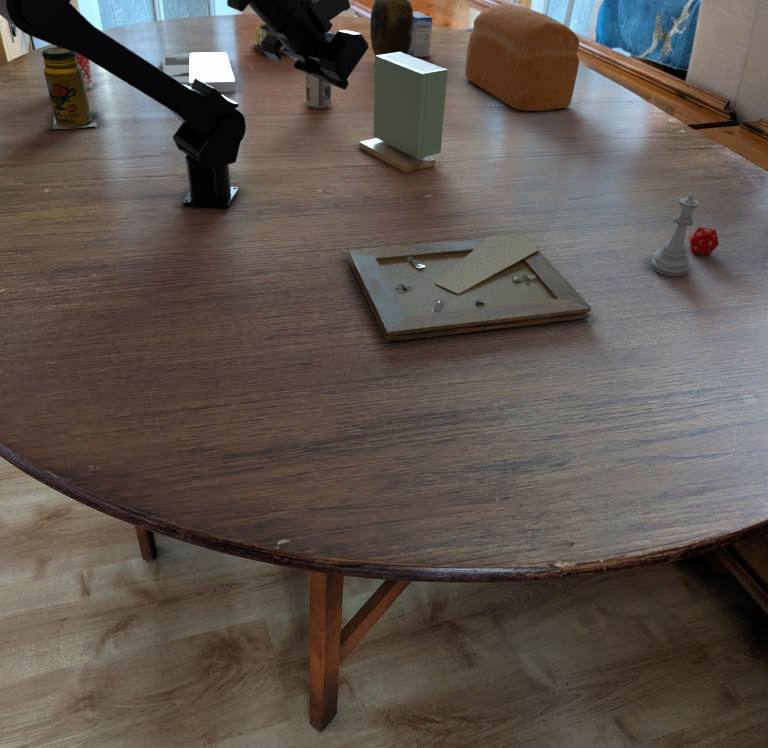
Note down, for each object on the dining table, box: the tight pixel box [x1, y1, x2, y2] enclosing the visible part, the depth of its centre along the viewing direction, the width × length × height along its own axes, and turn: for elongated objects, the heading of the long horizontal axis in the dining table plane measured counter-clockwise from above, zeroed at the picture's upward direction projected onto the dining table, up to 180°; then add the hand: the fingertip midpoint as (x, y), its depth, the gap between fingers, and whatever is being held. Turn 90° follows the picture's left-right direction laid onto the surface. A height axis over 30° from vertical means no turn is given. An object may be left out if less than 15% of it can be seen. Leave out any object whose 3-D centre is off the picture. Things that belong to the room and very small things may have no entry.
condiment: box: [41, 46, 98, 130], centre depth 124 cm, size 7×8×12 cm
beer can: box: [304, 72, 332, 110], centre depth 137 cm, size 5×5×12 cm
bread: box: [464, 3, 580, 112], centre depth 148 cm, size 14×26×16 cm, turn 20°
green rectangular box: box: [372, 52, 448, 159], centre depth 116 cm, size 5×12×13 cm, turn 36°
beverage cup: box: [56, 46, 94, 90], centre depth 140 cm, size 6×6×14 cm
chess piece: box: [650, 193, 700, 277], centre depth 90 cm, size 4×4×10 cm
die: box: [688, 226, 720, 256], centre depth 96 cm, size 4×3×4 cm
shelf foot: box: [358, 137, 436, 174], centre depth 120 cm, size 6×13×1 cm, turn 36°
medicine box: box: [407, 10, 433, 58], centre depth 174 cm, size 8×4×9 cm, turn 25°
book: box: [161, 51, 237, 93], centre depth 152 cm, size 23×14×2 cm, turn 14°
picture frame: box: [348, 232, 592, 343], centre depth 86 cm, size 19×2×24 cm
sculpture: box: [369, 0, 414, 57], centre depth 159 cm, size 13×8×20 cm, turn 15°
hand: (345, 86), depth 108 cm, fingers closed
